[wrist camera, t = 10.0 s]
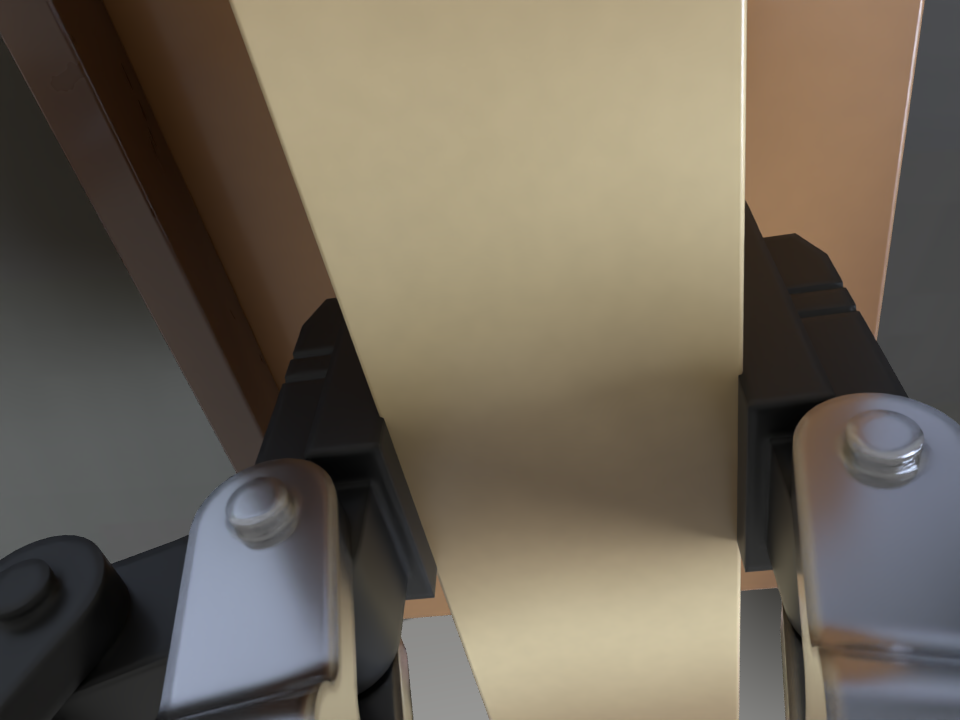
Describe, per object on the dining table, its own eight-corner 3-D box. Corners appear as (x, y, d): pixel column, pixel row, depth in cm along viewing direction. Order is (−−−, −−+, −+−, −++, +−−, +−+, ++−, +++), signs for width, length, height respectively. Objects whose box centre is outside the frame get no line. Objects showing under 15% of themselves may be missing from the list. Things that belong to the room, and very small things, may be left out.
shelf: (401, 339, 28) (342, 672, 18) (141, -495, 15) (-462, -814, 6) (735, 294, 26) (863, 633, 17) (741, -673, 14) (1242, -1500, 4)
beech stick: (235, -493, 7) (-19, -669, 3) (636, -612, 6) (763, -939, 3) (524, 602, 16) (526, 824, 13) (693, 588, 15) (739, 814, 12)
